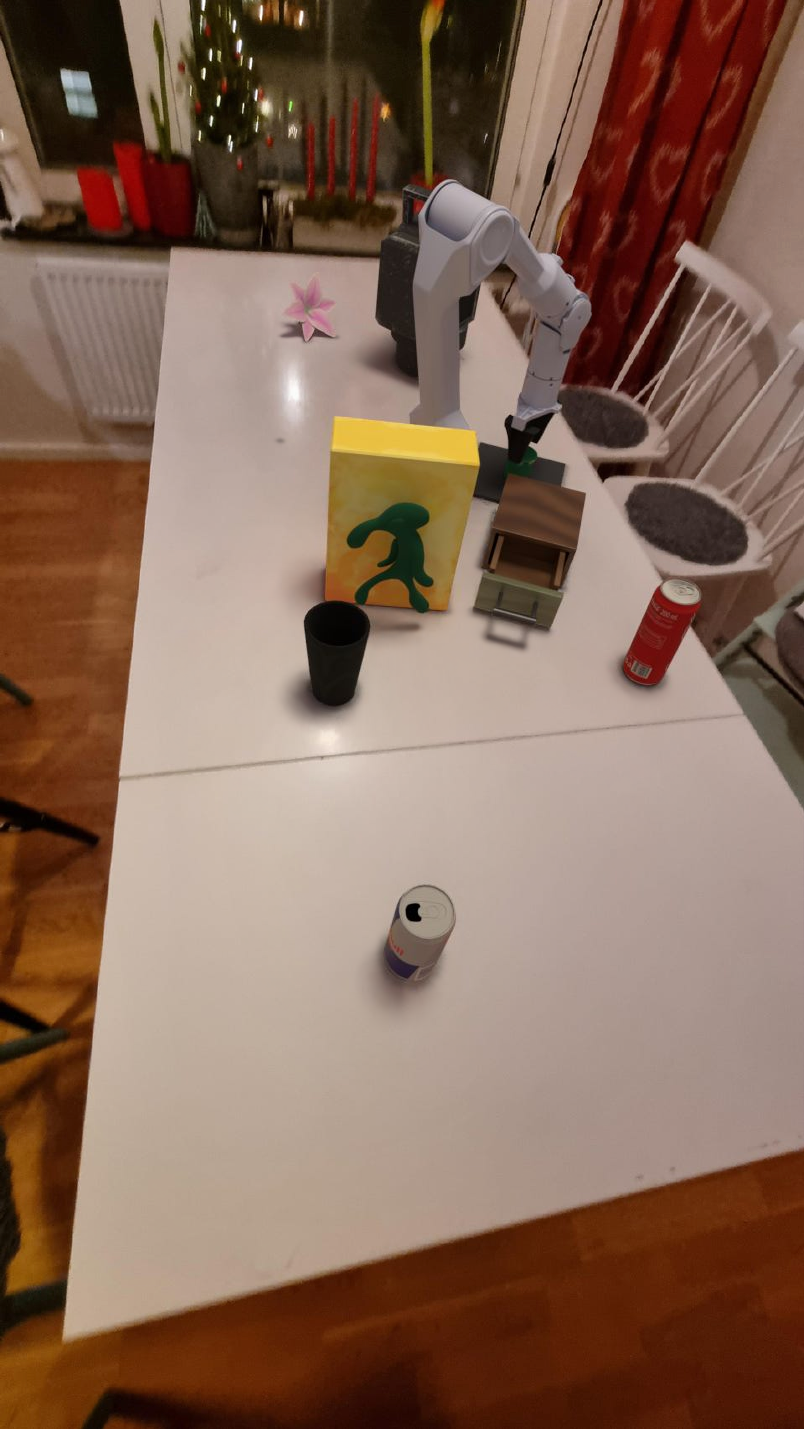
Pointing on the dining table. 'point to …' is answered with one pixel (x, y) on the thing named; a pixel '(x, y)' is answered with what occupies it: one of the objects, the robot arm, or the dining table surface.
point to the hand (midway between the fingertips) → (523, 451)
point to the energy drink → (419, 932)
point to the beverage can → (662, 630)
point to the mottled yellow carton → (397, 511)
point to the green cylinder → (521, 464)
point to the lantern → (408, 285)
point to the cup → (335, 649)
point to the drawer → (522, 582)
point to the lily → (311, 307)
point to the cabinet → (538, 517)
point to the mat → (493, 466)
